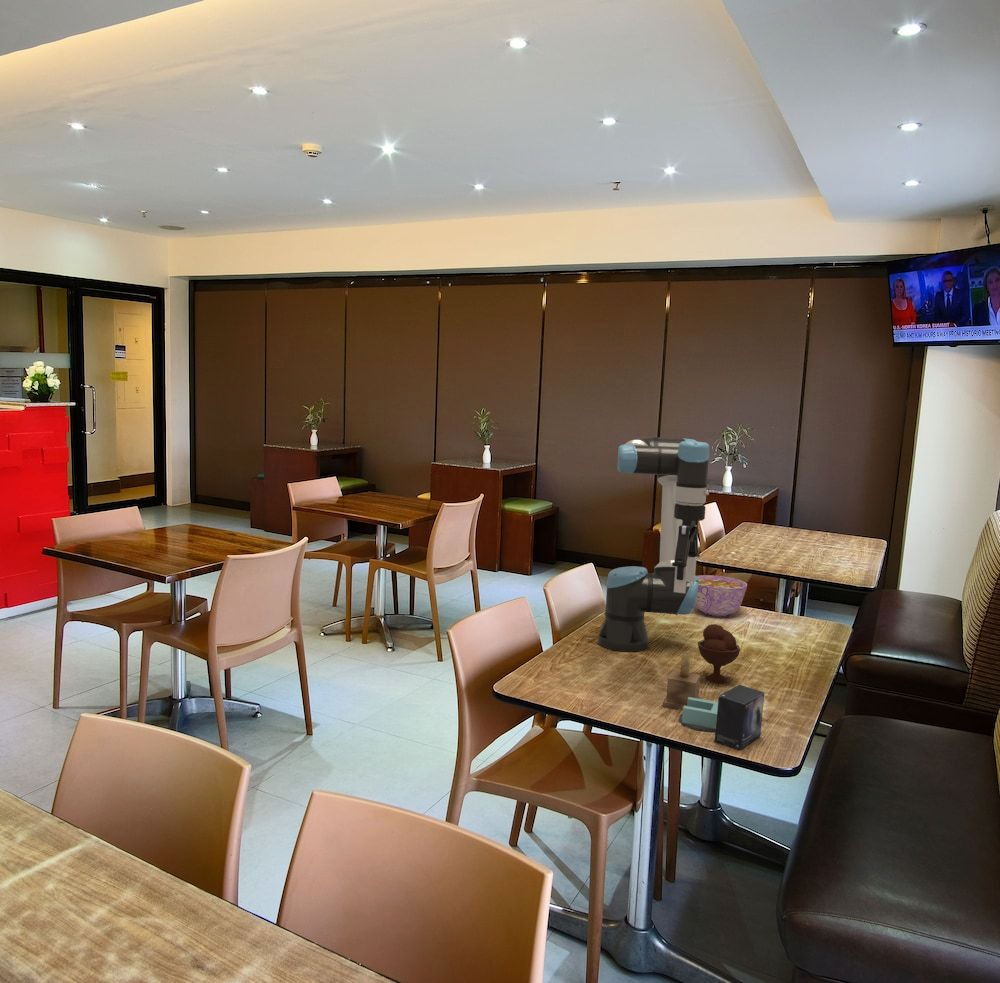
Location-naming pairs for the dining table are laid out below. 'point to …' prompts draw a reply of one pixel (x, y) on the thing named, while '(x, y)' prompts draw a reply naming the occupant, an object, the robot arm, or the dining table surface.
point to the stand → (682, 685)
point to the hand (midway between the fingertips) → (684, 587)
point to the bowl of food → (719, 594)
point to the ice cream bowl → (718, 650)
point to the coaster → (695, 726)
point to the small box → (739, 716)
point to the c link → (700, 712)
